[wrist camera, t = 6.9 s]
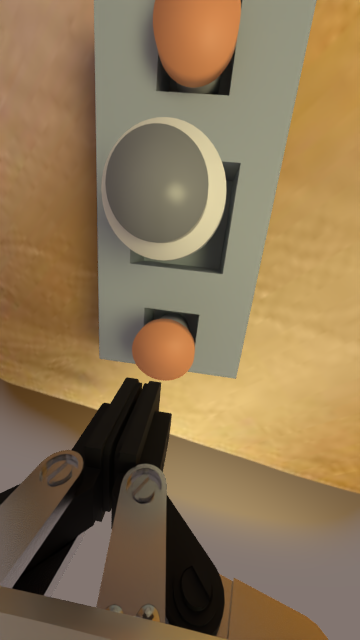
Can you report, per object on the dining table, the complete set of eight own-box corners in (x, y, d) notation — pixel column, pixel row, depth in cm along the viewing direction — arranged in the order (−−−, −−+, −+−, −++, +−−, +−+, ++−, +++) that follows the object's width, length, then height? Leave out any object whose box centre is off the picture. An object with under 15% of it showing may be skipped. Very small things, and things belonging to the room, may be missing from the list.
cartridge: (158, 187, 19) (82, 88, 7) (219, 192, 18) (244, 98, 7) (154, 250, 20) (87, 255, 9) (210, 257, 20) (218, 270, 8)
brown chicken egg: (171, 43, 15) (155, -48, 11) (235, 46, 15) (249, -47, 10) (165, 122, 17) (150, 72, 12) (224, 126, 16) (232, 77, 12)
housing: (125, 44, 17) (93, -36, 12) (287, 52, 16) (322, -31, 11) (119, 337, 24) (99, 358, 20) (229, 352, 24) (235, 378, 19)
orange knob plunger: (150, 301, 20) (133, 319, 15) (199, 308, 19) (198, 327, 15) (147, 346, 21) (130, 375, 16) (193, 353, 21) (190, 384, 16)
